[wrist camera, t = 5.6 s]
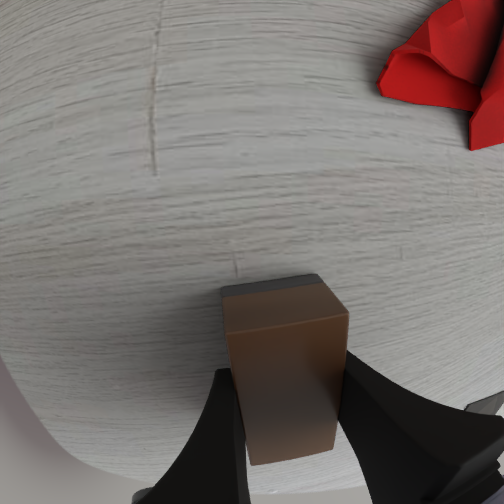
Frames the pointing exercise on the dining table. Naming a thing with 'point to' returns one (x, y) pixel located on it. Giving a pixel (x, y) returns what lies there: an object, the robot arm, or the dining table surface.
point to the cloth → (455, 66)
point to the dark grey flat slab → (487, 405)
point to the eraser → (286, 364)
